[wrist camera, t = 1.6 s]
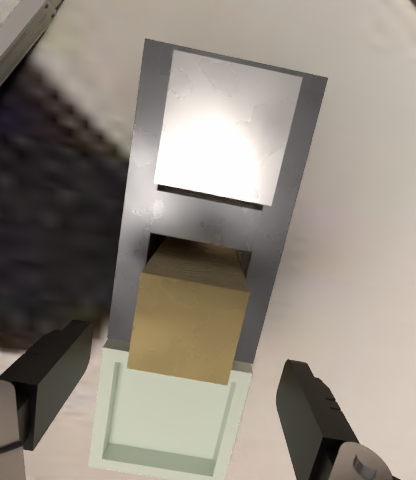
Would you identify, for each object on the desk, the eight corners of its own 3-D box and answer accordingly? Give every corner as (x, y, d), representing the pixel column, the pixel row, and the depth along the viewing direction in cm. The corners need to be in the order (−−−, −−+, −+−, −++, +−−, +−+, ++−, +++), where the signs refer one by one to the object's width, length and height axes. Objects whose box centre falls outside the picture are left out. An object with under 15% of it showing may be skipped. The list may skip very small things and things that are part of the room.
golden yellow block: (167, 235, 20) (140, 272, 13) (234, 248, 21) (250, 292, 13) (156, 298, 21) (126, 368, 14) (221, 309, 22) (227, 385, 14)
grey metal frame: (155, 60, 18) (145, 38, 15) (309, 93, 18) (328, 77, 15) (121, 316, 22) (107, 338, 19) (247, 338, 22) (252, 363, 19)
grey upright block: (189, 103, 18) (173, 49, 11) (263, 118, 19) (302, 77, 11) (176, 179, 19) (153, 183, 12) (246, 193, 20) (271, 206, 12)
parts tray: (112, 332, 22) (102, 347, 20) (249, 356, 22) (252, 373, 20) (97, 443, 24) (88, 466, 23) (221, 463, 25) (222, 488, 23)
